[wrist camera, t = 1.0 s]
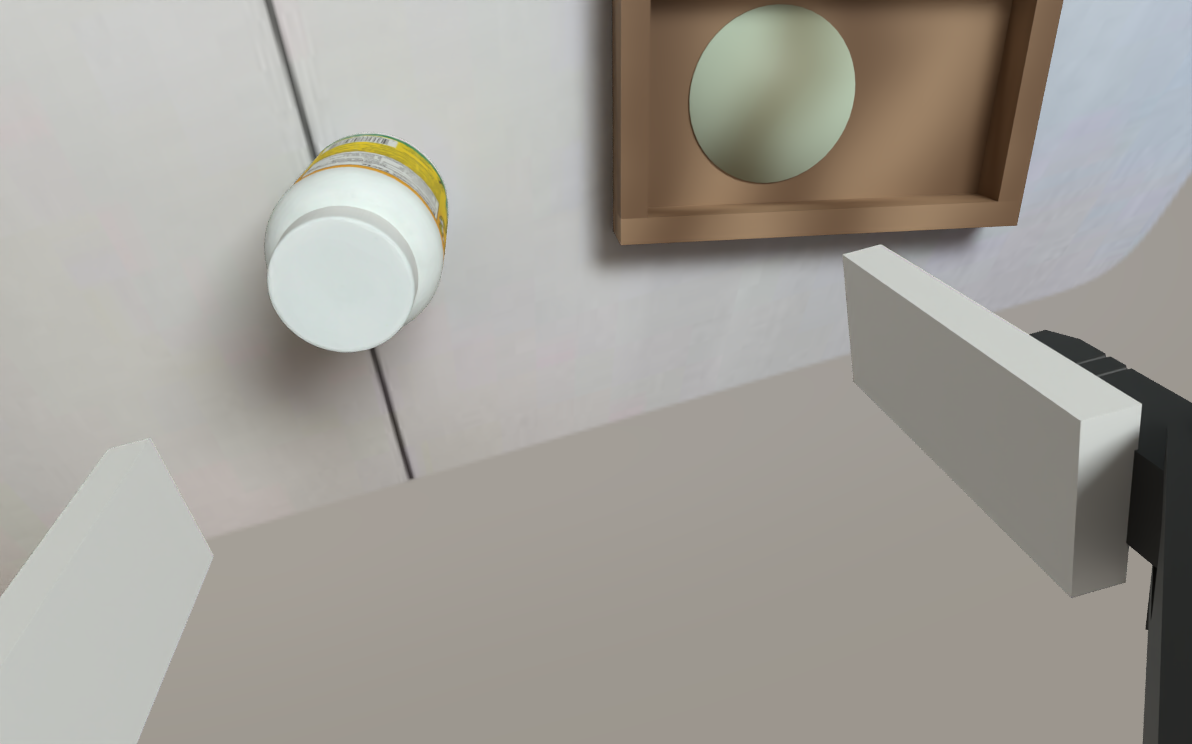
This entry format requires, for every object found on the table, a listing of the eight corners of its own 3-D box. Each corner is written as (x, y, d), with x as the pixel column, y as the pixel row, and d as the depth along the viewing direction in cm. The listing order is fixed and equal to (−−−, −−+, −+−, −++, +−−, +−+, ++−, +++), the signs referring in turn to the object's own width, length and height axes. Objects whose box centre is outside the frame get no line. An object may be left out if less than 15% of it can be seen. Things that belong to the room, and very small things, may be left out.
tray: (612, 231, 33) (620, 245, 32) (612, -51, 29) (621, -52, 27) (989, 212, 35) (1016, 225, 33) (1040, -54, 31) (1074, -56, 29)
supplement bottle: (366, 98, 30) (323, 145, 22) (478, 199, 32) (481, 279, 24) (274, 206, 31) (198, 292, 23) (388, 297, 33) (358, 408, 25)
